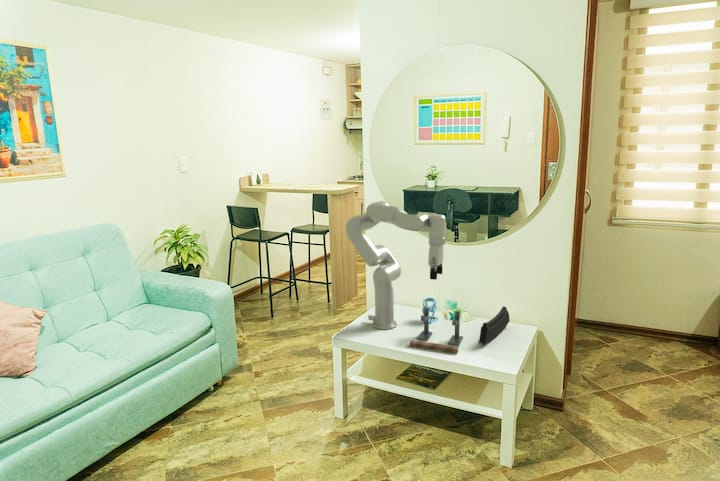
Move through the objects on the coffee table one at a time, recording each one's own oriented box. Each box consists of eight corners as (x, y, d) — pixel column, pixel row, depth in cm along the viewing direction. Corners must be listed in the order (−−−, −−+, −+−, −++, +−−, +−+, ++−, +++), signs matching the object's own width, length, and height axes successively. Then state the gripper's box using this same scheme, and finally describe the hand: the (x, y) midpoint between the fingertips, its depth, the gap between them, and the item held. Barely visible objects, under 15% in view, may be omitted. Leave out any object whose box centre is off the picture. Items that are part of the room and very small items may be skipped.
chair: (420, 322, 253) (420, 300, 250) (424, 317, 260) (424, 295, 258) (434, 324, 250) (435, 302, 247) (438, 318, 258) (438, 297, 255)
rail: (409, 347, 225) (409, 342, 224) (411, 344, 227) (411, 339, 227) (457, 354, 216) (457, 349, 216) (458, 351, 219) (458, 346, 218)
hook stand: (417, 339, 232) (417, 311, 229) (422, 332, 240) (422, 305, 237) (459, 345, 224) (459, 317, 221) (463, 338, 232) (463, 310, 229)
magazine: (483, 330, 219) (507, 294, 239) (477, 328, 221) (501, 293, 241) (487, 359, 226) (510, 323, 247) (480, 358, 228) (503, 321, 249)
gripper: (434, 236, 235) (433, 270, 239) (423, 244, 220) (423, 280, 223) (449, 238, 232) (448, 272, 236) (440, 245, 217) (439, 282, 220)
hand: (436, 276), depth 229 cm, fingers open, 9 cm apart
